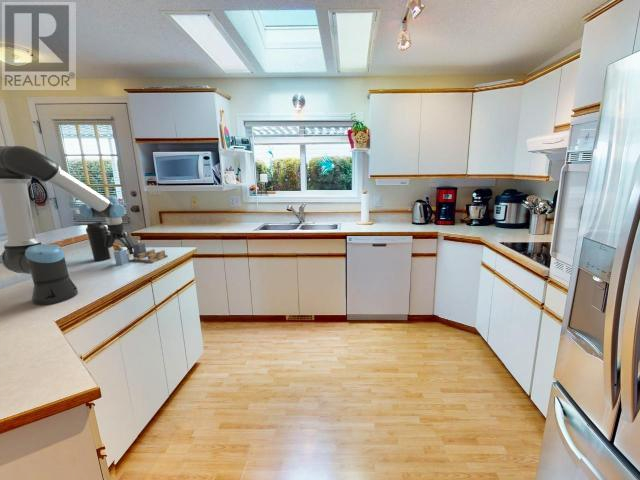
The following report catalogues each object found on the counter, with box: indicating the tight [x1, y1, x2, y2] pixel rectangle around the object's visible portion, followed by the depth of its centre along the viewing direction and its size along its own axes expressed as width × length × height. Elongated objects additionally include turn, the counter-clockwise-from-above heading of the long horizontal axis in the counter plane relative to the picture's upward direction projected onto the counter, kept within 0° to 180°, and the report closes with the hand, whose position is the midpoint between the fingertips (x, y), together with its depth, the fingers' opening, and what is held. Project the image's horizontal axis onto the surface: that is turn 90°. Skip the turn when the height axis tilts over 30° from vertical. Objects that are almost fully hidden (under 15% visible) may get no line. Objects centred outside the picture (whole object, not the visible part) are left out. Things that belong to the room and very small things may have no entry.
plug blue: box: [114, 246, 130, 266], centre depth 175 cm, size 4×4×10 cm
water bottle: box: [85, 221, 111, 262], centre depth 182 cm, size 10×10×23 cm
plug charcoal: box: [133, 240, 147, 257], centre depth 183 cm, size 4×4×10 cm
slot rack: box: [127, 249, 169, 264], centre depth 184 cm, size 12×20×4 cm, turn 75°
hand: (122, 258), depth 176 cm, fingers open, 13 cm apart
